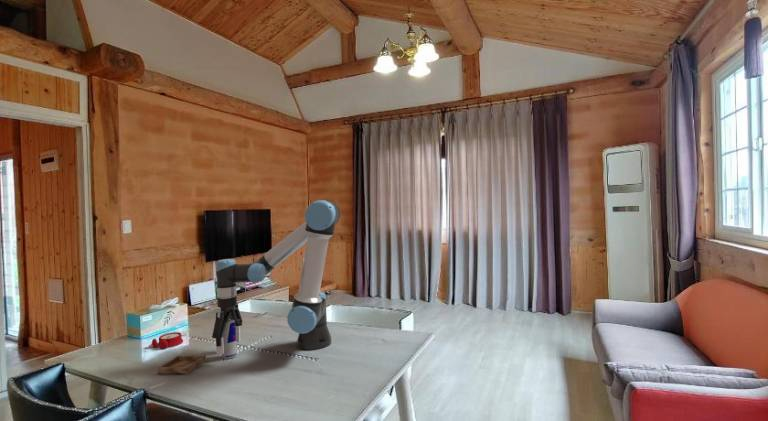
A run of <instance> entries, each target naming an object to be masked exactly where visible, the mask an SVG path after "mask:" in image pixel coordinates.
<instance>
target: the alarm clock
mask: <svg viewBox="0 0 768 421" xmlns="http://www.w3.org/2000/svg"><path fill="white" fill-rule="evenodd" d="M187 335H188V334H183V335H182V333H181V332H180V331H179V332H178V331H175V332H168V333H165V334H161V335H160V336H158V340H157V338H152V340H151V344H149V345H148V347H150V348H154V349H157V348H159V349H160V350H166V349H167V348H172V347H176V346H179V345H182V343H183V342H184V339H183V338H182V337H184V336H187ZM151 345H152V346H151Z"/></svg>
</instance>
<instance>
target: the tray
mask: <svg viewBox="0 0 768 421" xmlns="http://www.w3.org/2000/svg"><path fill="white" fill-rule="evenodd" d="M206 356H207V355H176V356H175V357H173V358H171V359H170V360H169V361H167V362H166V363H164V364H162V365H161V366H159V367H158V368H157V375H162V376H163V375H164V376H165V375H169V376H170V375H171V376H172V375H173V376H174V375H177V376H178V375H182V376H184V375H185V376H188V375H190V374H191V373H192V372H194V371H195V370H197V368H199V367H201V366H202V365H203V364H204V363H206V362H207V361H206V360H207V358H206Z"/></svg>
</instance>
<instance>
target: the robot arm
mask: <svg viewBox="0 0 768 421" xmlns="http://www.w3.org/2000/svg"><path fill="white" fill-rule="evenodd" d="M304 218H305V221H304V222H303V223H302V224H300V225H299V226H298V227H297V228H295V230H293V231H292V232H291V233H289V234H287V236H286V237H284V238H283V239H282V240H281V241H280V242H278V243H276V244H275V245H274V246H273V247H271V249H269V250H267V252H266V253H264V254H263V255H262V256H260V257H259V258H258V259H257V260H254V261H252V262H249V263H236V260H235V259H233V258H225V259H224V258H223V259H220V260H217V261H216V263H215V264H216V265H215V273H216V295H217V296H216V297H217V301H216V302H217V303H216V304H217V308H220V311H219V312H218V311H216V313H215V321H214V325H213V330H212V335H211V338H212V339H215V346H216V347H215V350H216V354H217V355H222V354H224V341H223V337H222V335H223V332H224V329H225V326H226V323H227V322H228V320H235V326H236V343H237V342H238V343H239V342H241V326H243V319H242V315H241V312H240V308H239V304H238V297H237V294H238V293H237V292H238V291H237V283H259V282H263V281H264V280H265V277H266V276H267V275H269V274H270V273H271V272H272V271H273V270H274V269H275V268H276V267H277V266H279V265H280V264H281V263H282V262H284V261H285V260H287V258H289V257H290V256H291V255H293V254H294V253H296V251H298V250H299V249H300V248H301V247H302V246H304V245H305V244H306V245H305V246H306V247H305V251H304V257H303V262H302V270H301V275H300V280H299V287H298V292H297V293H296V294H294V296H293V299H292V305H291V308H290V310H289V312H288V314H287V317H286V319H287V320H286V321H287V325H288V326H289V328H290V329H291V330H292V331H293V332H295V333H297V334H298V335H297V339H296V344H297V345H296V346H297V348H299V349H302V350H307V351H309V350H310V351H311V350H318V349H319V350H320V349H323V348H326V347H329V346H330V345H331V344H332V336H331V333H330V331H329V330H330V329H329V326H328V322H327V321H328V320H327V318H328V317H327V297H326V293H325V292H324V291H321V286H322V280H323V274H324V269H325V264H326V257H327V252H328V248H329V243H330V242H329V241H330V239H331V238H332V237H333V236H334V234H335V233H334V232H335V228H336V224H337V223H338V222H339V221H340V218H341V210H340V208H339V205H337V203H335V202H334V201H332V200H325V199H319V200H315V201H313V202H312V203H310V204H309V205H308V206H307V208H306V210H305V212H304Z"/></svg>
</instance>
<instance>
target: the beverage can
mask: <svg viewBox="0 0 768 421" xmlns="http://www.w3.org/2000/svg"><path fill="white" fill-rule="evenodd" d="M222 337H223V341H224V354H221V355H222V356H221V358H223V359H224V360H225V359H226V360H227V359H229V360H230V359H233V358H235V357H236V356H237V354H238V353H237V351H238V349H237V342H236V326H235V320H230V319H229V320H228V322H227V323H226V326H225V329H224V332H223V335H222Z"/></svg>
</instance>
